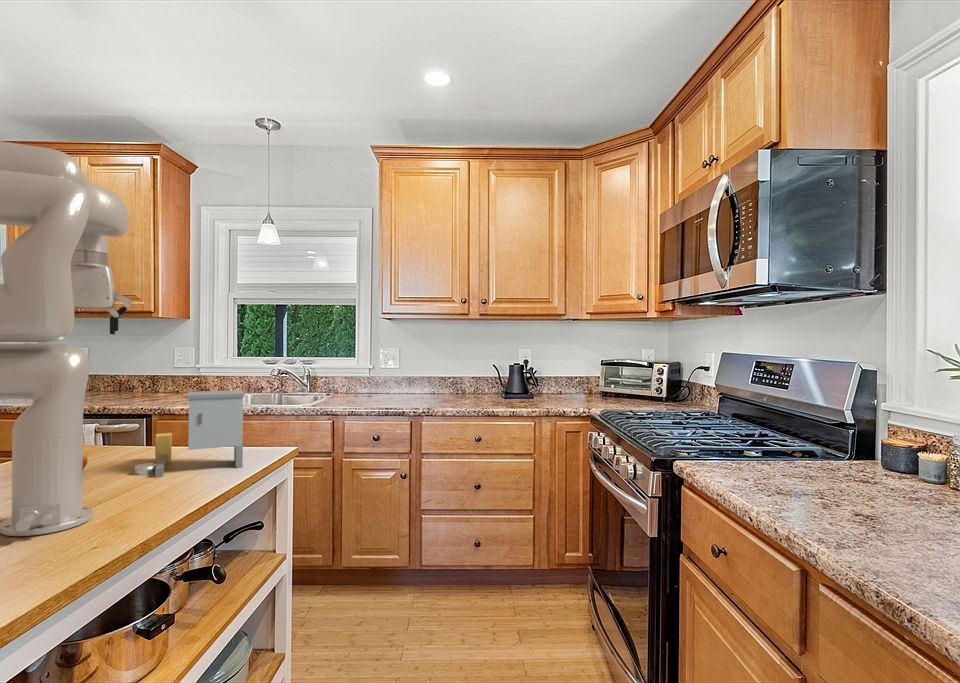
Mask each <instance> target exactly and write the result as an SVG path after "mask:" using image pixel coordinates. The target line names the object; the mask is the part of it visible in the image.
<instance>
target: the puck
mask: <svg viewBox="0 0 960 683" xmlns="http://www.w3.org/2000/svg"><path fill="white" fill-rule="evenodd" d="M156 465H157V463H155V462H148V463H147V462H145V463H140V464H139V463H138V464H136V465H134V475H135V474H136V475H135V476H147V475H146V474H149V475H153V474H155V469H156ZM152 473H153V474H152Z"/></svg>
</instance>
